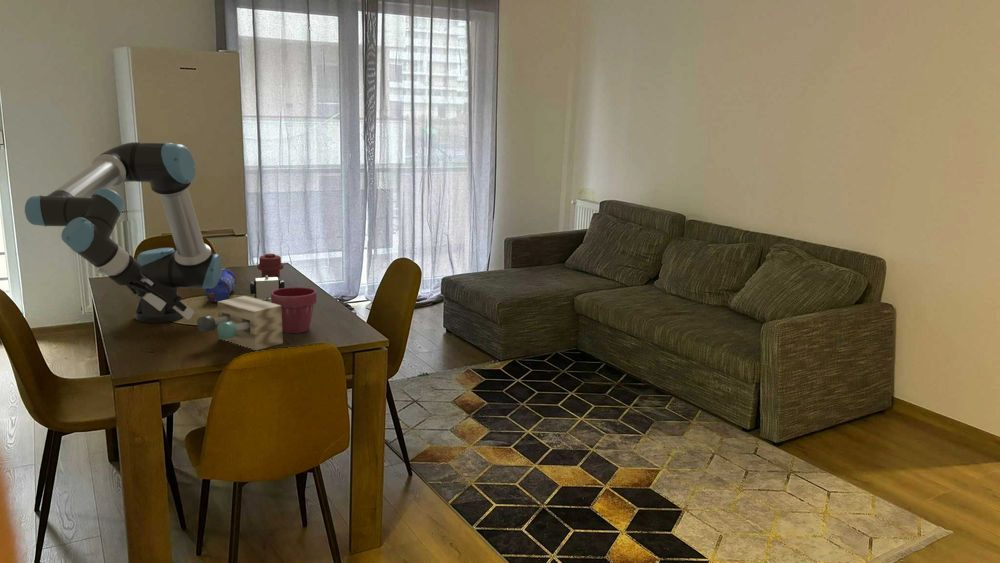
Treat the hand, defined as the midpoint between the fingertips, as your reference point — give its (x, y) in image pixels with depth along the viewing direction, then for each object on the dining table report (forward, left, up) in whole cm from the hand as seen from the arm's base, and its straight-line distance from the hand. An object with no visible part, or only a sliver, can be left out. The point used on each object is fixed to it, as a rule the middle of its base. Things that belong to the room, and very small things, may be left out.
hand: (176, 311), depth 214 cm
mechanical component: (+3, +100, -16) cm, 101 cm away
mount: (+13, +24, -16) cm, 32 cm away
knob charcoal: (+5, +22, -11) cm, 25 cm away
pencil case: (-11, +80, -16) cm, 82 cm away
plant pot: (+24, +37, -16) cm, 47 cm away
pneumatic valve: (+10, +63, -16) cm, 66 cm away
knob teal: (+13, +15, -11) cm, 23 cm away
